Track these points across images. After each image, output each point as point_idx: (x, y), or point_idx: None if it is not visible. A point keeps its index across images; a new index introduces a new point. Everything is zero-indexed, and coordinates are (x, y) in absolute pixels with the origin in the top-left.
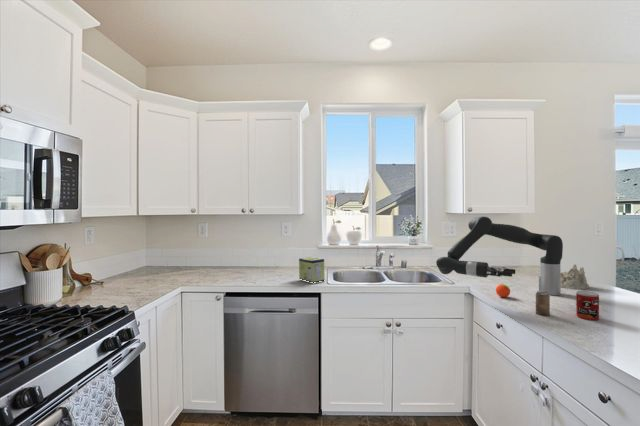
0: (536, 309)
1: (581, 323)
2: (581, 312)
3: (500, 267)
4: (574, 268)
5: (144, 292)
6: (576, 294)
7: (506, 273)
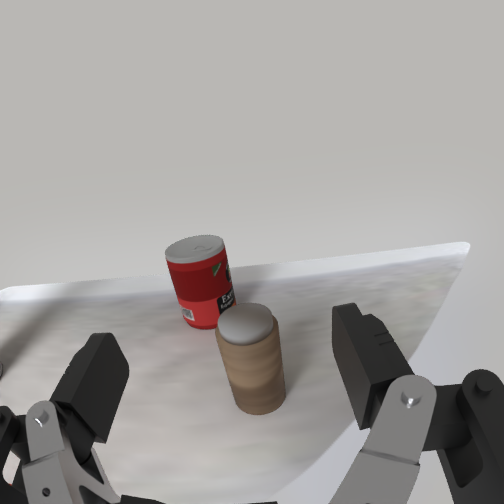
0: (273, 398)
1: (286, 313)
2: (229, 304)
3: (66, 473)
4: None
5: None
6: (197, 265)
7: (392, 353)
